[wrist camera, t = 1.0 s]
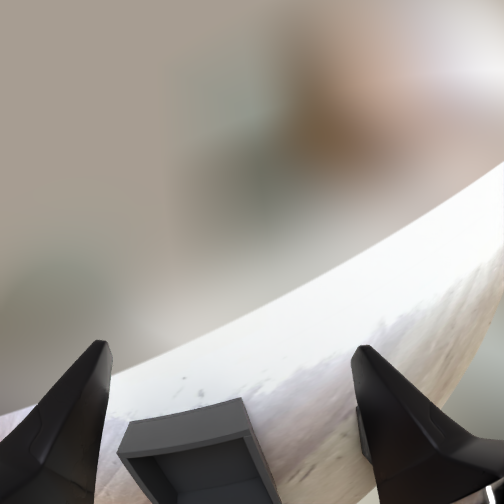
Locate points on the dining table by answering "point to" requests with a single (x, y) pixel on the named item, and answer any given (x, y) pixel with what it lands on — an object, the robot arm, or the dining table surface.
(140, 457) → the trash bin
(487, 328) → the dining table surface
